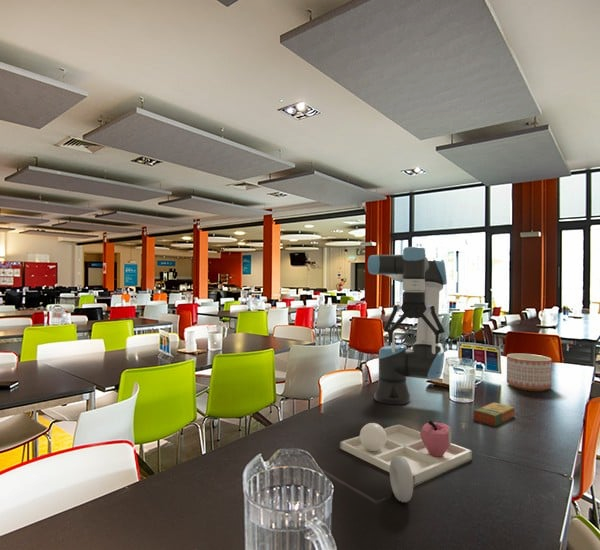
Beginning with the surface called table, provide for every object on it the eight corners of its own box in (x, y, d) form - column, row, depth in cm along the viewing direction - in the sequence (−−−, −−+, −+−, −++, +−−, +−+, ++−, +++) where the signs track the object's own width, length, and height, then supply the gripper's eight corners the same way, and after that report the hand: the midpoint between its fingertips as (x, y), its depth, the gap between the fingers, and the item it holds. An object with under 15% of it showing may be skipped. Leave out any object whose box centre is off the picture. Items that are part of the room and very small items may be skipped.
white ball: (354, 449, 126) (354, 422, 126) (372, 443, 131) (372, 417, 131) (373, 458, 120) (373, 430, 120) (392, 451, 125) (392, 424, 125)
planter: (551, 385, 208) (552, 356, 208) (550, 394, 191) (550, 362, 191) (508, 380, 218) (509, 352, 218) (504, 388, 202) (504, 357, 202)
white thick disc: (387, 489, 103) (387, 448, 104) (401, 488, 104) (401, 448, 104) (400, 511, 94) (400, 466, 94) (415, 511, 94) (415, 466, 94)
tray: (339, 450, 127) (340, 441, 127) (398, 431, 143) (398, 424, 143) (412, 486, 105) (412, 476, 105) (471, 459, 121) (471, 450, 121)
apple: (446, 464, 117) (447, 428, 117) (416, 456, 121) (416, 422, 121) (455, 452, 125) (455, 418, 125) (426, 445, 129) (426, 413, 129)
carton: (514, 418, 160) (514, 406, 160) (495, 427, 149) (495, 415, 149) (493, 412, 166) (493, 401, 166) (472, 420, 156) (473, 409, 156)
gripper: (377, 291, 143) (377, 353, 143) (453, 292, 140) (453, 355, 140) (376, 290, 151) (376, 349, 151) (448, 291, 147) (448, 351, 147)
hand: (413, 352), depth 145 cm, fingers open, 13 cm apart
